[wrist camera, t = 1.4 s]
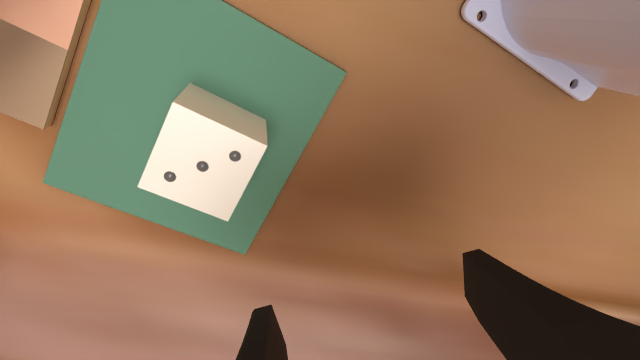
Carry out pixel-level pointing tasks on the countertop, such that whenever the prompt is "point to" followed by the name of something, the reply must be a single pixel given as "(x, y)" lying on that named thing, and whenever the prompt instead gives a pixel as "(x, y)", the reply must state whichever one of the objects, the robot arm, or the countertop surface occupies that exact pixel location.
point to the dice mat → (165, 86)
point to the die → (205, 153)
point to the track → (37, 55)
